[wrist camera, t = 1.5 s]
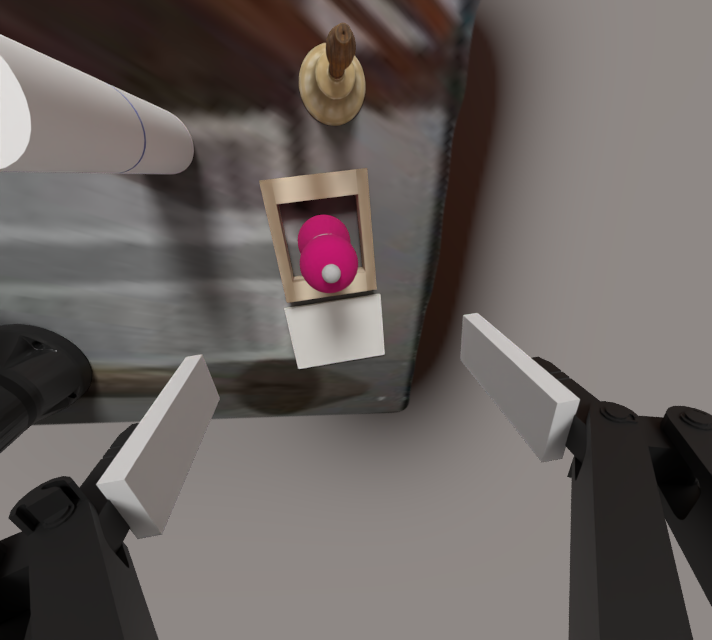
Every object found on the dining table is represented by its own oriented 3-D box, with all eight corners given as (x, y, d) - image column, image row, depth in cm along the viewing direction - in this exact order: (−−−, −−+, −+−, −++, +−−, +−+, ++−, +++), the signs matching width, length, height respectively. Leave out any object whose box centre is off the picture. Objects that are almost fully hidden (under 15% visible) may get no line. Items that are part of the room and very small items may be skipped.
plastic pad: (298, 367, 54) (298, 369, 54) (284, 307, 49) (284, 309, 48) (384, 353, 56) (384, 354, 55) (379, 293, 50) (380, 294, 50)
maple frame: (288, 295, 48) (286, 302, 45) (262, 180, 41) (259, 180, 38) (372, 283, 49) (376, 289, 47) (363, 168, 42) (367, 168, 39)
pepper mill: (354, 247, 46) (383, 291, 28) (313, 268, 47) (316, 324, 29) (333, 202, 43) (349, 220, 25) (289, 225, 44) (275, 259, 26)
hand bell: (337, 141, 40) (352, 121, 26) (285, 89, 37) (269, 33, 22) (378, 84, 38) (420, 28, 24) (327, 24, 35) (339, -83, 20)
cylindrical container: (186, 184, 39) (27, 194, 17) (126, 157, 37) (-145, 130, 15) (200, 127, 37) (34, 53, 15) (136, 95, 35) (-170, -48, 13)
